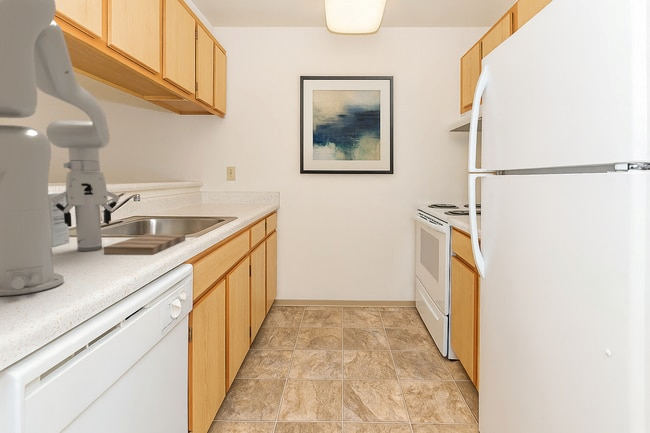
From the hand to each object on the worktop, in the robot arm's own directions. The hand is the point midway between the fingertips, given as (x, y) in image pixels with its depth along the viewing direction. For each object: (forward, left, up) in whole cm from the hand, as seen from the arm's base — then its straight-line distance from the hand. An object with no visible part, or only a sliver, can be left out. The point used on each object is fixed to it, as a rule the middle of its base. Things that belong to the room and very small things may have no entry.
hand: (88, 224), depth 112 cm
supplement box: (+18, +9, -8) cm, 22 cm away
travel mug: (0, 0, -8) cm, 8 cm away
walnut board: (-6, -15, -8) cm, 18 cm away
